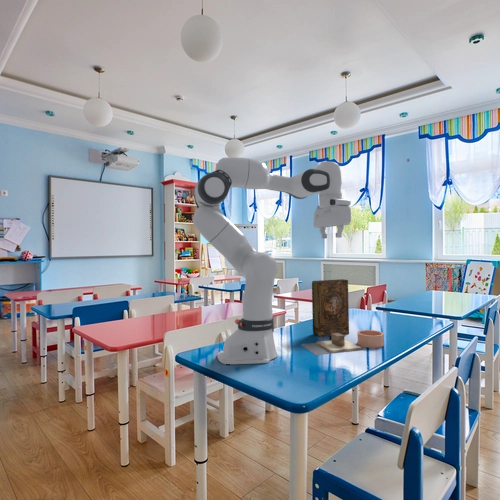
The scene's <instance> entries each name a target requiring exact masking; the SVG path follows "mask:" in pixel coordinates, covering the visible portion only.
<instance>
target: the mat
mask: <svg viewBox="0 0 500 500" xmlns="http://www.w3.org/2000/svg"><path fill="white" fill-rule="evenodd" d="M300 346H301V347H303V348H305V349H306V350H308V351H310V352H311V353H312V354H313V355H315V356H320V355H329V354H330V355H332V354H338V353H339V354H341V353H350V352H351V353H352V352H360V351H364V349H363V348H362V349H361V350H352V351H342V352H332V353H331V352H329V351H327V350H326V349H324V348H322V347H321V346H319V345H318V344H316V342H312V343H303V344H301V343H300Z"/></svg>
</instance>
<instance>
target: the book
mask: <svg viewBox="0 0 500 500" xmlns="http://www.w3.org/2000/svg"><path fill="white" fill-rule="evenodd" d="M311 306H312V310H311V311H312V334H313V335H317V336H318V338H322V337H323V338H324V337H332V334H331V333H340V334H342V335H344V336H345V335H350V315H349V314H350V312H349V311H350V309H349V280H348V279H344V278H343V279H324V280H321V279H320V280H312V282H311Z"/></svg>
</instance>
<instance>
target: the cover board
mask: <svg viewBox="0 0 500 500" xmlns="http://www.w3.org/2000/svg"><path fill="white" fill-rule="evenodd" d="M331 334H332V336H331V340H330V339H329V340H321V341H316V342H315V343H316V344H318V345H319V346H321V347H322V348H324V349H326V350H327V351H329V352H331V353H332V352H342V351H352V350H361V349H363V348H362V347H363V346H360V345H358V344H355V343H353V342H352V341H350V340H348V339H345V334H344V335H342V334H340V333H331ZM361 351H362V350H361ZM352 352H353V351H352ZM342 353H343V352H342ZM332 354H333V353H332Z"/></svg>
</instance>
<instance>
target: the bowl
mask: <svg viewBox="0 0 500 500" xmlns="http://www.w3.org/2000/svg"><path fill="white" fill-rule="evenodd" d="M356 333H357V345H358V346H360V347H364V348H373V349H375V348H377V349H378V348H382V347H384V346H385V333H384V332H382V331H380V330H375V329H374V330H373V329H362V330H361V329H360V330H359V331H357V332H356Z"/></svg>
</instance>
